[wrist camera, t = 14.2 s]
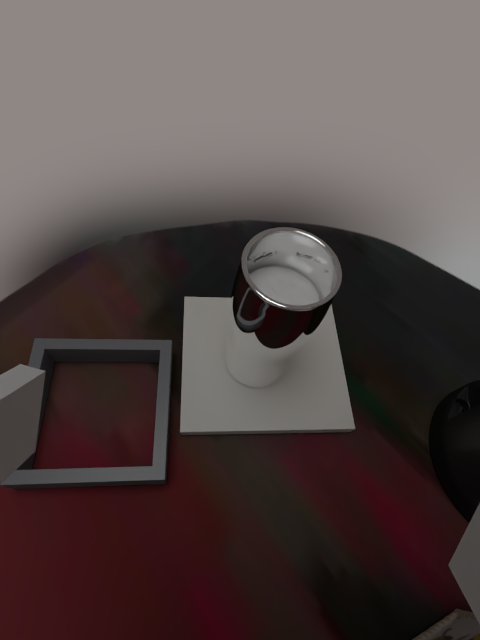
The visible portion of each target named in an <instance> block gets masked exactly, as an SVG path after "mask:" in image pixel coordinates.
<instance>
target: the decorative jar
mask: <svg viewBox="0 0 480 640" xmlns="http://www.w3.org/2000/svg"><path fill="white" fill-rule="evenodd" d="M412 640H480V624H479V623H478V621H477V619H476V617H475V615H474V613H472V612H468V611H463V610H461V609H455V610H454V611H453V612H451V613H450V614H449V615H447V616H445V617H444V618H443V619H442V620H440V621H439V622H437V623H435V624H434V625H433V626H431V627H430V628H428V629H427V630H426V631H424V632H422V633H421V634H419V635H418V636H417V637H415V638H413V639H412Z"/></svg>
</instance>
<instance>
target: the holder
mask: <svg viewBox="0 0 480 640" xmlns="http://www.w3.org/2000/svg"><path fill="white" fill-rule="evenodd" d="M55 362H126V363H159V375H158V390H157V405H156V421H155V436H154V451H153V466H144V467H109V468H74V469H40V470H32V468H33V463H34V458H35V454H36V450H35V452H34V453H33V454H32V455H31V456H30V457H29V458H28V459H27V460H26V461H25V462H24V463H23V464H21V465H20V466H19V467H18V468H17V469H16V470H15V471H14V472H13V473H12V474H11V475H10V476H9V477H8V478H7V479H6V480H5V481H4V482H3V483H1V484H0V486H4V487H8V488H12V489H33V488H62V487H90V486H119V485H148V484H167V468H168V447H169V426H170V405H171V384H172V363H173V348H172V340H117V339H39V338H35V340H34V344H33V348H32V352H31V356H30V360H29V364H28V366H29V367H32V368H36V369H40V370H44V371H46V372H45V380H44V387H43V395H42V403H41V411H40V419H39V426H38V434H37V442H36V449H37V444H38V439H39V435H40V430H41V425H42V421H43V416H44V411H45V407H46V402H47V397H48V393H49V388H50V383H51V379H52V374H53V369H54V364H55Z"/></svg>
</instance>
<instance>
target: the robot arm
mask: <svg viewBox="0 0 480 640" xmlns="http://www.w3.org/2000/svg"><path fill="white" fill-rule="evenodd" d="M45 372H46V371H44V370H40V369H36V368H32V367H29V366H25V365H21V364H20V365H18V366H16V367H14V368H13V369H11V370H9V371H7V372H5V373H3V374H2V375H0V484H1V483H3V482H4V481H5V480H6V479H7V478H8V477H9V476H10V475H11V474H12V473H13V472H14V471H15V470H16V469H17V468H18V467H19V466H20V465H21V464H23V463H24V462H25V461H26V460H27V459H28V458H29V457H30V456H31V455H32V454H33V453H34V452H35V450H36V442H37V434H38V426H39V419H40V411H41V403H42V395H43V387H44V380H45ZM430 448H431V455H432V459H433V463H434V466H435V469H436V472H437V475H438V477H439V479H440V481H441V484H442V485H443V487H444V489H445V491H446V493H447V494H448V496H449V497H450V499H451V500H452V502H453V503H454V505H455V506H456V507H457V509H458V510H459V511H460V512H461V513H462V514H463V515H464V517H465V518H466V519H467V520H468V521H469V522H470V523H469V525H468V527H467V529H466V531H465V533H464V535H463V537H462V539H461V541H460V543H459V545H458V547H457V549H456V551H455V553H454V555H453V557H452V559H451V561H450V563H449V565H448V566H449V568H450V569H451V571H452V573H453V575H454V577H455V579H456V581H457V583H458V585H459V587H460V588H461V590H462V592H463V594H464V596H465V598H466V600H467V602H468V604H469V605H470V607H471V609H472V611H473V613H474V615H475V617H476V619H477V621H478V623H479V624H480V380H478V381H474V382H471V383H469V384H466V385H465V386H463V387H461V388H459V389H457V390H455V391H453V392H452V393H450V394H449V395H447V396H446V397H445V398H444V399H443V400H442V401H441V403H440V404H439V405H438V407H437V409H436V411H435V413H434V416H433V418H432V422H431V427H430Z"/></svg>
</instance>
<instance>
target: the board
mask: <svg viewBox="0 0 480 640" xmlns="http://www.w3.org/2000/svg"><path fill="white" fill-rule="evenodd" d="M230 302H231V298H213V297H185V301H184V330H183V360H182V390H181V420H180V435H212V434H266V433H319V432H351V431H353V430H354V429H355V425H354V420H353V415H352V410H351V404H350V399H349V394H348V389H347V384H346V378H345V373H344V368H343V363H342V358H341V352H340V347H339V342H338V337H337V331H336V326H335V321H334V316H333V311H332V305H330V307H329V309H328V311H327V314H326V315H325V317H324V319H323V321H322V322H321V324H320V326H319V327H318V329H317V330H316V331H315V333H314V334H313V335H312V337H311V338H310V339H309V340H308V341H307V342H306V343H305V344H304V345H303V346H302V347H300V348H299V349H298V350H297V351H296V352H294V353H293V354H292V355H290V356H289V357H288V358H287V363H286V367H285V370H284V372H283V374H282V376H281V377H280V378H279V379H278V380H277V381H276V382H275V383H273V384H271V385H269V386H267V387H262V388H253V387H248V386H245V385H243V384H241V383H239V382H238V381H237V380H235V379H234V378H233V377H232V375H231V374H230V373H229V371H228V369H227V367H226V363H225V351H226V348H227V345H228V343H229V341H230V340H231V338H232V337H233V332H232V326H231V317H230Z"/></svg>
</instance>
